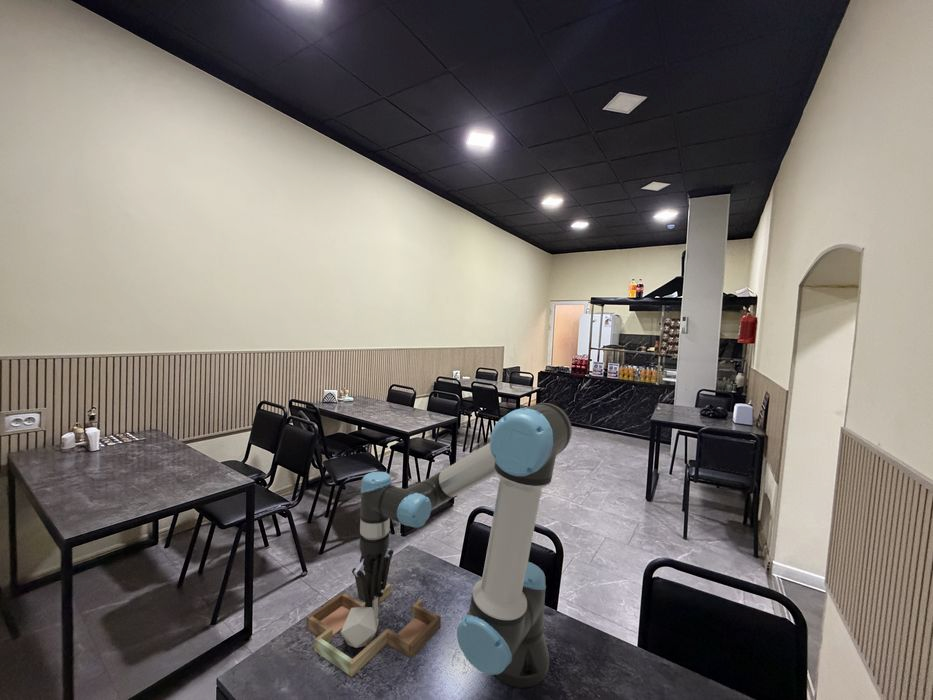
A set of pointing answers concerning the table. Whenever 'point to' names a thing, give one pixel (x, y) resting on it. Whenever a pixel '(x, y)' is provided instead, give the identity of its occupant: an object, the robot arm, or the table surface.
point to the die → (360, 626)
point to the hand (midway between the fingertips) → (371, 621)
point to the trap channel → (405, 641)
